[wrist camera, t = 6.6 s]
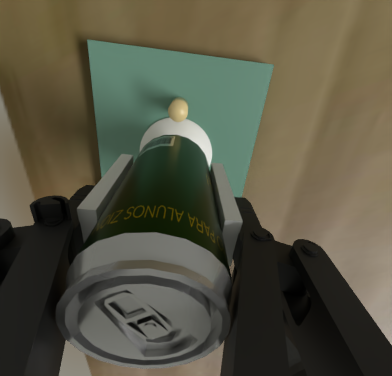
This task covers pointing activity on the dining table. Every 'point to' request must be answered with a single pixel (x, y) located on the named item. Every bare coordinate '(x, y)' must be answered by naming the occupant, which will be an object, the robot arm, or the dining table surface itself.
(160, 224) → the beer can
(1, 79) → the dining table surface
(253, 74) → the board
